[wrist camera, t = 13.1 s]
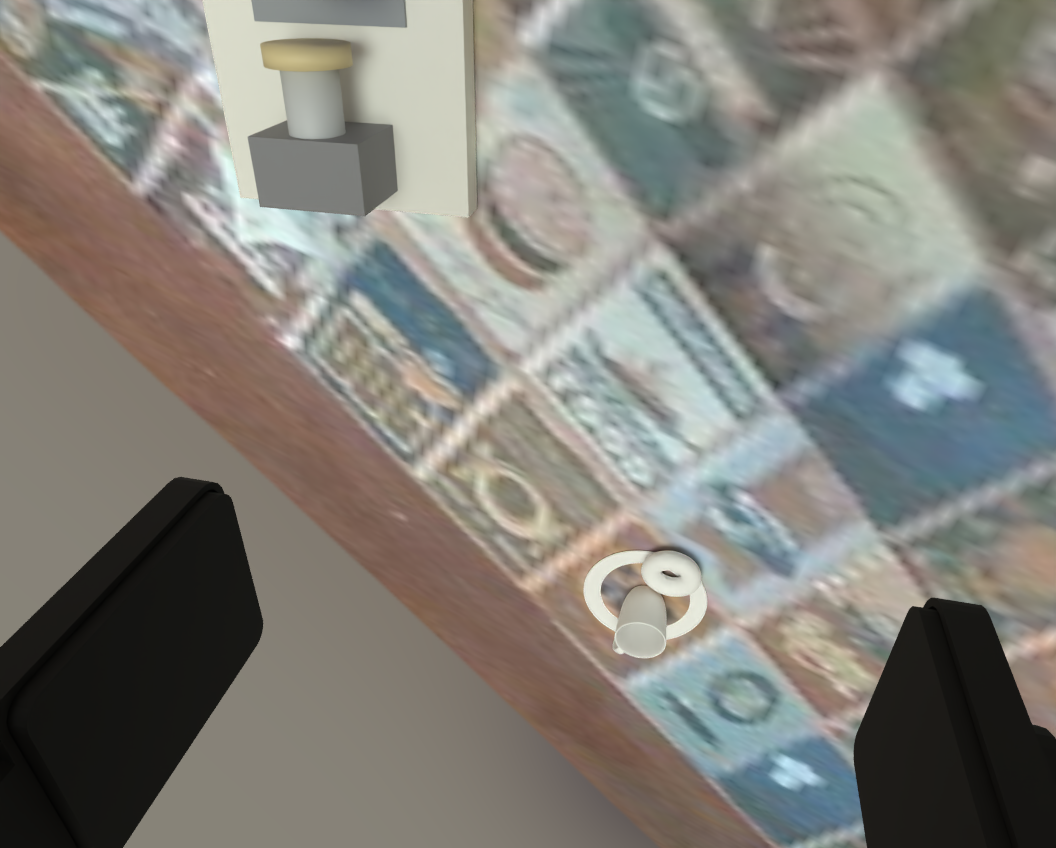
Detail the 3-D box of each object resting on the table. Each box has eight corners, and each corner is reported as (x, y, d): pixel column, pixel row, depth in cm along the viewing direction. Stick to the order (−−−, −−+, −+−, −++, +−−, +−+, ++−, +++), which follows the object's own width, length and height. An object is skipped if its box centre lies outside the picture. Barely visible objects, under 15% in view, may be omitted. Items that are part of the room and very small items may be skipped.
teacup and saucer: (678, 524, 46) (674, 570, 42) (741, 611, 48) (742, 661, 45) (561, 569, 50) (549, 614, 46) (625, 647, 52) (618, 695, 49)
